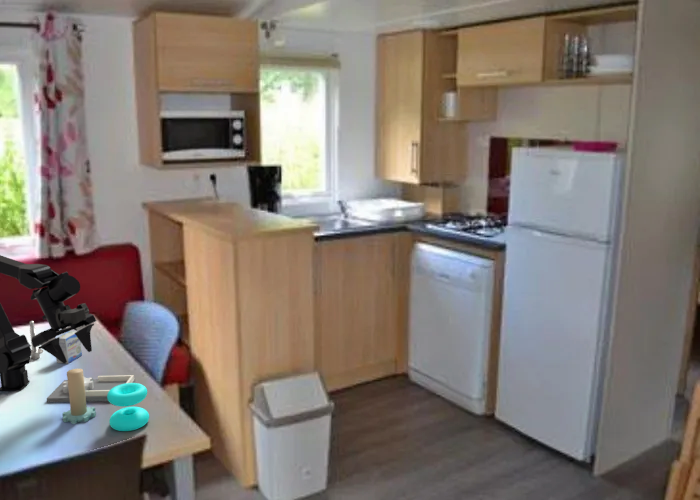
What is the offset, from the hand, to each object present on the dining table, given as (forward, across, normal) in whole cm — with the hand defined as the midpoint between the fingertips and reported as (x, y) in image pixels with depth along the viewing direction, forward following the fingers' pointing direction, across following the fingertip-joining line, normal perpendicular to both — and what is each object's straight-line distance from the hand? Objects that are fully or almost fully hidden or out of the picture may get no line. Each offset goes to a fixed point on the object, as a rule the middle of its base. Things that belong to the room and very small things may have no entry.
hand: (78, 357), depth 185 cm
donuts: (+23, -6, -13) cm, 27 cm away
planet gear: (+15, -8, 0) cm, 17 cm away
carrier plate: (+11, +6, +8) cm, 15 cm away
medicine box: (-2, +23, +32) cm, 39 cm away
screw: (-7, +20, +42) cm, 47 cm away
